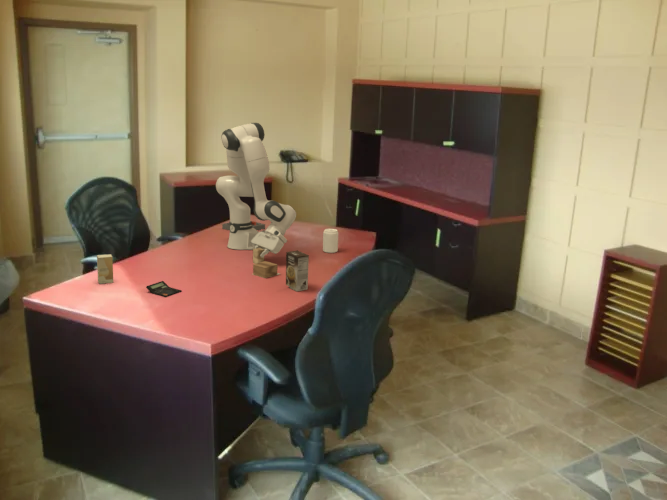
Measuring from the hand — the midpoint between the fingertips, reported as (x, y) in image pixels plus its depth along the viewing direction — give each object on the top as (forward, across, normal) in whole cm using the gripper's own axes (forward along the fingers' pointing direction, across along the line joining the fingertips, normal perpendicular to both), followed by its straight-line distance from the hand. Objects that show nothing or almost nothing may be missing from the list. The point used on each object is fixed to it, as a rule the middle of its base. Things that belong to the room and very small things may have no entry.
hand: (257, 255), depth 314 cm
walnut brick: (+8, +18, -2) cm, 20 cm away
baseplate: (+8, +17, -1) cm, 19 cm away
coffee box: (+8, +40, 0) cm, 40 cm away
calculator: (+43, +11, -35) cm, 57 cm away
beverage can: (-29, +1, +36) cm, 47 cm away
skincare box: (+53, -16, -46) cm, 72 cm away
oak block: (+3, 0, +4) cm, 5 cm away
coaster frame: (-22, -69, +29) cm, 78 cm away
